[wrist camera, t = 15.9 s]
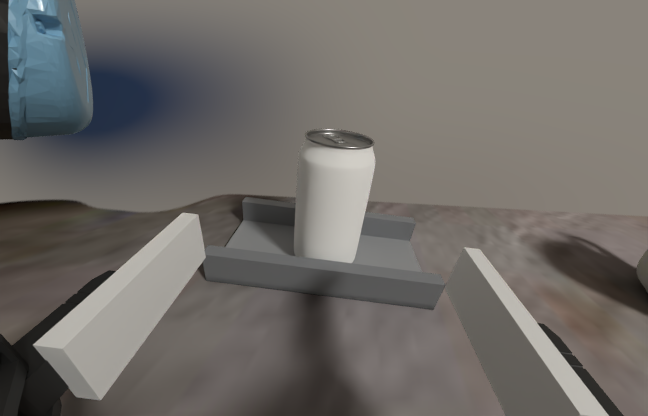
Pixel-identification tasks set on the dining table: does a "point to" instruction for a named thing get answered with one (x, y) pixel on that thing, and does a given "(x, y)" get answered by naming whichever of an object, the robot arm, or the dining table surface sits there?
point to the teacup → (643, 270)
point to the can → (332, 193)
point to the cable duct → (324, 275)
